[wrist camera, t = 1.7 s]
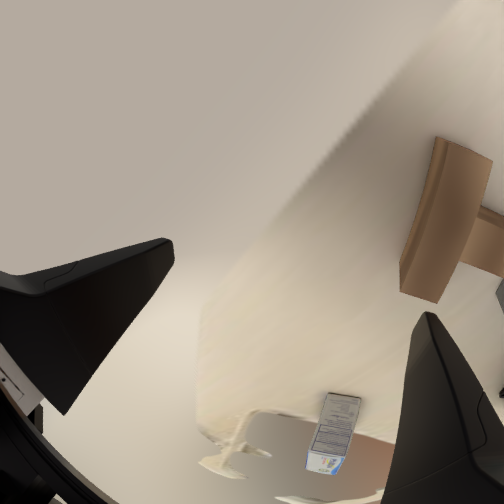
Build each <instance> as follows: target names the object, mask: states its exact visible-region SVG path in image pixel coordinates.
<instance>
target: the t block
mask: <svg viewBox="0 0 504 504" xmlns="http://www.w3.org/2000/svg"><path fill="white" fill-rule="evenodd" d="M492 163H493V161H491V160H489V159H488V158H486V157H484V156H482V155H480V154H478V153H476V152H474V151H471V150H469V149H467V148H464V147H462V146H460V145H457V144H455V143H452V142H450V141H447V140H444V139H442V138H439V137H436V140H435V145H434V149H433V154H432V158H431V163H430V167H429V171H428V175H427V179H426V183H425V186H424V190H423V194H422V197H421V201H420V204H419V207H418V211H417V214H416V217H415V220H414V223H413V226H412V229H411V232H410V235H409V238H408V241H407V243H406V246H405V249H404V252H403V254H402V257H401V259H400V262H399V266H400V292H402V293H405V294H408V295H411V296H414V297H418V298H421V299H424V300H427V301H430V302H433V303H436V304H437V303H438V301H439V299H440V297H441V296H442V294H443V292H444V290H445V288H446V286H447V284H448V282H449V280H450V278H451V276H452V274H453V272H454V270H455V268H456V266H457V263H458V261H461V262H464V263H466V264H469V265H472V266H474V267H477V268H479V269H482V270H485V271H487V272H490V273H492V274H495V275H497V276H499V277H502V278H504V216H502V215H500V214H498V213H496V212H494V211H492V210H489V209H487V208H485V207H483V206H481V202H482V199H483V196H484V192H485V189H486V186H487V182H488V179H489V175H490V171H491V167H492Z"/></svg>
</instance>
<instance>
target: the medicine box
mask: <svg viewBox="0 0 504 504" xmlns="http://www.w3.org/2000/svg"><path fill="white" fill-rule="evenodd" d="M360 403H361V399H360V398H355V397H349V396H342V395H336V394H331V393H329V394H328V395H327V398H326V401H325V404H324V407H323V410H322V413H321V416H320V419H319V421H318V424H317V427H316V430H315V433H314V435H313V439H312V441H311V443H310V446H309V449H308V454H307V460H306V466H305V468H306V469H307V470H310V471H315V472H319V473H324V474H332V475H335V474H336V473H337V471H338V470H339V468H340V466H341V464H342V462H343V461H344V459H345V457H346V455H347V453H348V450H349V446H350V443H351V440H352V436H353V432H354V428H355V425H356V421H357V416H358V412H359V408H360Z"/></svg>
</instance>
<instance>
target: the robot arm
mask: <svg viewBox="0 0 504 504" xmlns="http://www.w3.org/2000/svg"><path fill="white" fill-rule="evenodd" d="M174 259H175V257H174V249H173V243H172V241H171V240H169V239H166V238H158V239H154V240H150V241H147V242H143V243H139V244H135V245H132V246H128V247H124V248H121V249H117V250H114V251H110V252H106V253H103V254H99V255H96V256H93V257H89V258H85V259H82V260H80V261H75V262H72V263H68V264H64V265H61V266H57V267H53V268H50V269H45V270H41V271H37V272H33V273H29V274H26V275H10V274H7V273H5V272H2V271H0V504H62V503H61V502H59V501H58V500H56V499H55V498H53V497H54V496H55V495H56V494H58V495H59V496H60V497H61V498H62V499H63V500H64V501H65V502H66V503H67V504H119V503H117V502H116V501H114V500H113V499H112V498H110V497H109V496H108V495H106V494H105V493H103V492H102V491H101V490H100V489H99V488H97V487H96V486H95V485H94V484H92V483H91V482H90V481H89V480H88V479H86V478H85V477H84V476H83V475H82V474H81V473H80V472H79V471H77V470H76V469H75V468H74V467H73V466H72V465H71V464H70V463H69V462H68V461H67V460H66V459H65V458H64V457H62V455H61V454H60V453H59V452H58V451H57V450H55V448H54V447H53V446H52V445H51V444H50V443H49V442H48V441H47V440H46V439H45V438H44V436H43V435H42V433H43V407H42V406H41V404H40V402H41V401H42V400H43V399H44V397H45V398H46V399H47V400H48V401H49V402H50V403H51V404H52V405H53V406H54V407H55V408H56V409H57V410H58V411H59V412H60V413H61V414H62V415H63V416H64V415H65V414H66V413H67V412H68V410H69V409H70V407H71V406H72V404H73V403H74V401H75V400H76V399H77V397H78V396H79V394H80V393H81V391H82V390H83V388H84V387H85V386H86V384H87V383H88V381H89V380H90V379H91V377H92V375H93V374H94V373H95V371H96V370H97V369H98V367H99V366H100V364H101V363H102V362H103V360H104V359H105V358H106V356H107V355H108V353H109V352H110V351H111V349H112V348H113V347H114V345H115V344H116V342H117V341H118V340H119V339H120V337H121V336H122V335H123V333H124V332H125V331H126V330H127V328H128V327H129V326H130V324H131V323H132V322H133V320H134V319H135V318H136V316H137V315H138V314H139V313H140V311H141V310H142V309H143V308H144V306H145V305H146V304H147V303H148V301H149V300H150V299H151V297H152V296H153V295H154V293H155V292H156V290H157V289H158V287H159V286H160V284H161V283H162V281H163V280H164V278H165V276H166V275H167V273H168V272H169V270H170V269H171V267H172V266H173V264H174V261H175V260H174ZM499 397H500V398H504V389H503V390H502V391H501V392H500V393H499ZM381 504H504V426H503V424H502V422H501V421H500V419H499V417H498V415H497V414H496V412H495V410H494V408H493V406H492V405H491V403H490V401H489V399H488V397H487V395H486V393H485V392H483V388H482V386H481V384H480V383H479V381H478V379H477V377H476V376H475V374H474V372H473V371H472V369H471V367H470V366H469V364H468V362H467V361H466V359H465V357H464V356H463V354H462V353H461V351H460V349H459V348H458V346H457V345H456V343H455V342H454V340H453V339H452V337H451V336H450V334H449V333H448V331H447V330H446V328H445V327H444V325H443V324H442V322H441V321H440V320H439V318H438V317H437V315H436V314H434V313H430V312H427V311H425V312H424V313H423V314H422V315H421V317H420V319H419V320H418V322H417V324H416V326H415V327H414V329H413V332H412V335H411V342H410V349H409V355H408V361H407V367H406V373H405V380H404V390H403V399H402V407H401V415H400V421H399V428H398V434H397V439H396V444H395V449H394V454H393V459H392V463H391V468H390V472H389V476H388V480H387V483H386V487H385V490H384V494H383V497H382V500H381Z"/></svg>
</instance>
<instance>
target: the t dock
mask: <svg viewBox="0 0 504 504" xmlns="http://www.w3.org/2000/svg"><path fill="white" fill-rule="evenodd" d="M496 295H497V297H498V300H499V302H500V305H501V308H502V310H503V313H504V279H503V281H502V283H501V285H500V286H499V288H498V290H497V292H496Z"/></svg>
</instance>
